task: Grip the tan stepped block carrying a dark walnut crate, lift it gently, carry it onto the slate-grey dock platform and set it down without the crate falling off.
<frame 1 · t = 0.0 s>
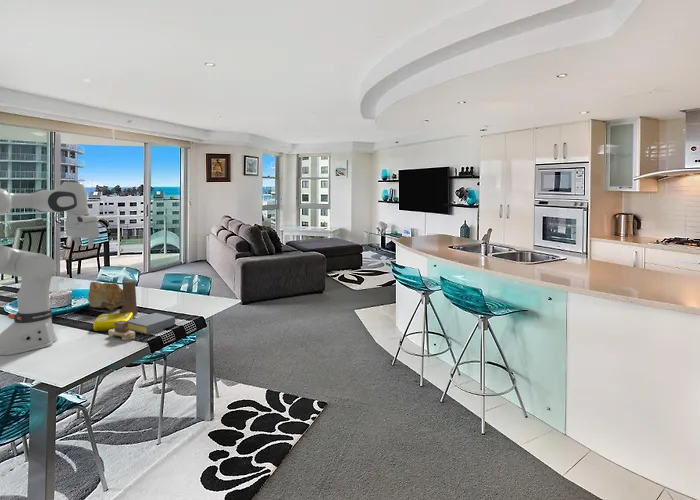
hand: (84, 246, 205), 39 cm above the table, tool pointing down, fingers open, 8 cm apart
dock: (151, 327, 212), on the table
crate: (121, 331, 197), point 3 cm above the table, touching tan stepped block
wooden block: (128, 317, 228), on the table
element tile: (114, 326, 215), on the table
tan stepped block: (122, 337, 198), on the table, touching crate
rough brown rock: (112, 307, 245), on the table
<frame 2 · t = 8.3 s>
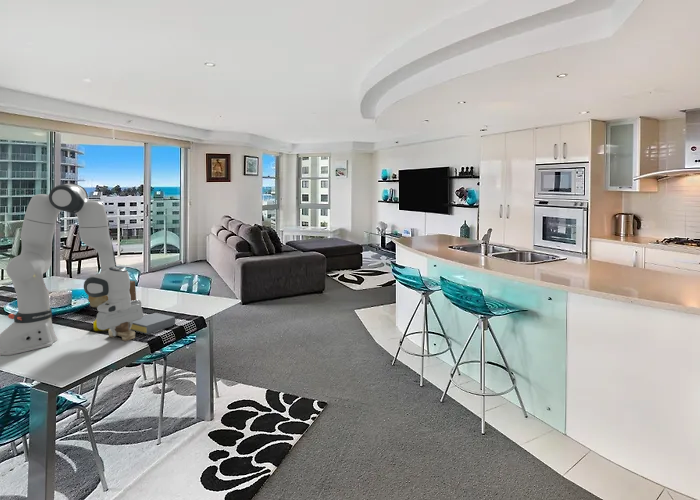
hand: (121, 333, 197), 2 cm above the table, tool pointing down, fingers closed on tan stepped block, 5 cm apart
tan stepped block: (122, 337, 198), on the table, touching crate, gripper
everything else where it was.
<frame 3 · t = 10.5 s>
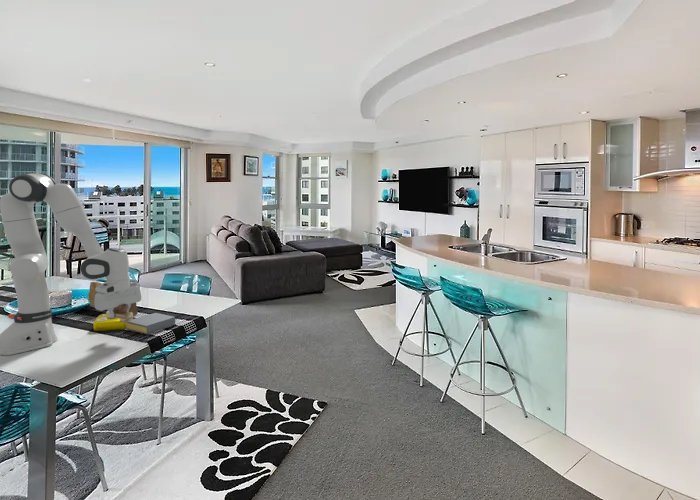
hand: (119, 315, 196), 10 cm above the table, tool pointing down, fingers closed on tan stepped block, 5 cm apart
crate: (119, 312, 196), point 11 cm above the table, touching tan stepped block
tan stepped block: (119, 319, 196), point 8 cm above the table, touching crate, gripper
everything else where it was.
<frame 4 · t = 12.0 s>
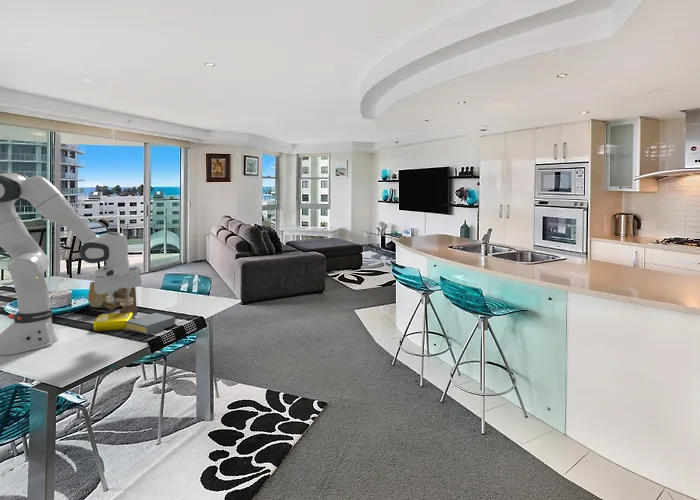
hand: (119, 300, 195), 17 cm above the table, tool pointing down, fingers closed on tan stepped block, 5 cm apart
crate: (119, 296, 195), point 18 cm above the table, touching tan stepped block
tan stepped block: (120, 303, 196), point 15 cm above the table, touching crate, gripper
everything else where it was.
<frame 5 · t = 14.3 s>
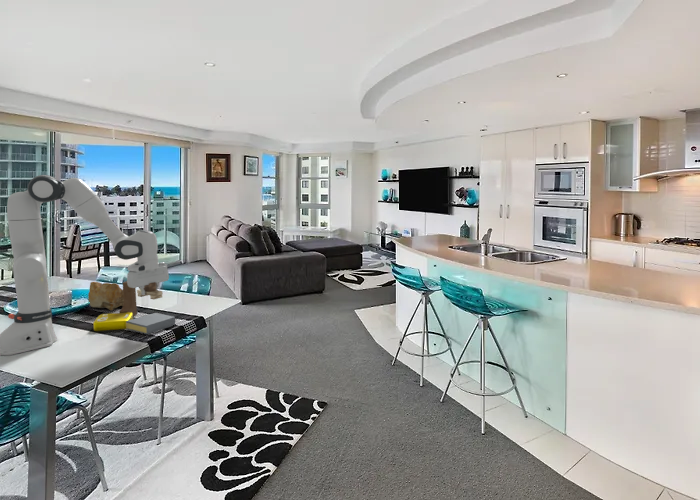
hand: (149, 293, 210), 16 cm above the table, tool pointing down, fingers closed on tan stepped block, 5 cm apart
crate: (149, 290, 209), point 18 cm above the table, touching tan stepped block
tan stepped block: (150, 296, 210), point 15 cm above the table, touching crate, gripper
everything else where it was.
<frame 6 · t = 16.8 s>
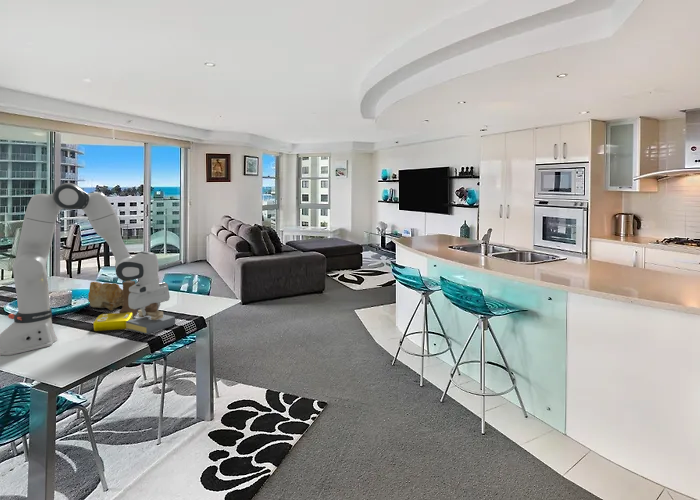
hand: (150, 313, 211), 7 cm above the table, tool pointing down, fingers closed on tan stepped block, 5 cm apart
crate: (150, 311, 211), point 8 cm above the table, touching tan stepped block
tan stepped block: (150, 317, 211), point 5 cm above the table, touching crate, gripper
everything else where it was.
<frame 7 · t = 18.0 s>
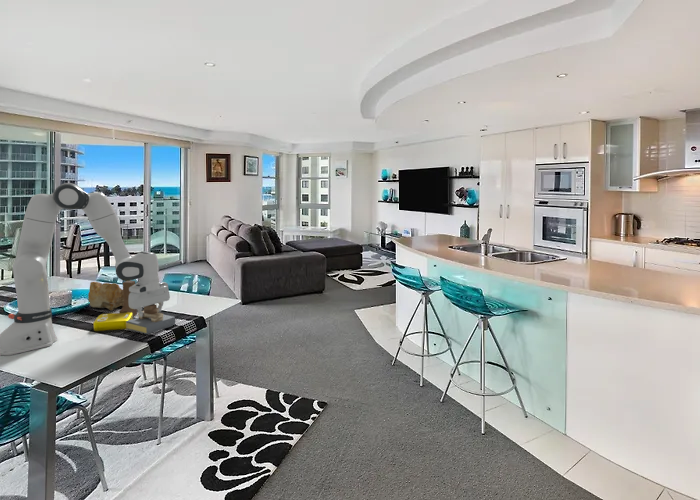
hand: (150, 313, 211), 7 cm above the table, tool pointing down, fingers open, 8 cm apart
tan stepped block: (150, 319, 211), point 4 cm above the table, touching crate, dock
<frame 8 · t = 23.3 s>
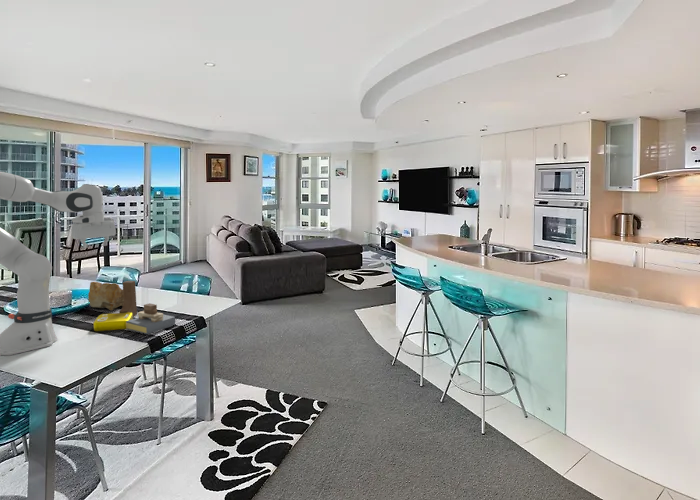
hand: (95, 246, 215), 37 cm above the table, tool pointing down, fingers open, 8 cm apart
nothing on the table moved.
at the end: tan stepped block inside the target area on the dock (0.1 cm from its centre), point 4.0 cm above the dock's base; crate 0.0 cm off-centre on the tan stepped block, point 3.0 cm above the tan stepped block's base; the gripper is holding nothing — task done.
